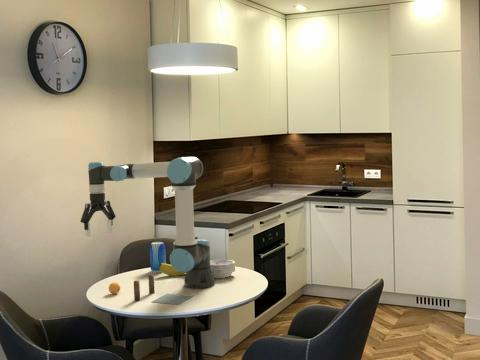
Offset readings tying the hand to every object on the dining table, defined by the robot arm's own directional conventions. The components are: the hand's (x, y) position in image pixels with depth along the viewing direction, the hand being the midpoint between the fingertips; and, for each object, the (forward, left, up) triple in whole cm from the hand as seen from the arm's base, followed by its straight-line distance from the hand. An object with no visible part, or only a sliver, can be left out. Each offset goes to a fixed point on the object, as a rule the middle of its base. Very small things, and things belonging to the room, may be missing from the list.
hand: (99, 234), depth 305 cm
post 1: (-33, +18, -26) cm, 46 cm away
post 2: (-33, +5, -26) cm, 43 cm away
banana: (-28, -31, -27) cm, 50 cm away
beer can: (-12, -35, -27) cm, 46 cm away
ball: (-16, +12, -24) cm, 31 cm away
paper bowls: (-51, -34, -27) cm, 67 cm away
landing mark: (-48, +12, -26) cm, 56 cm away
